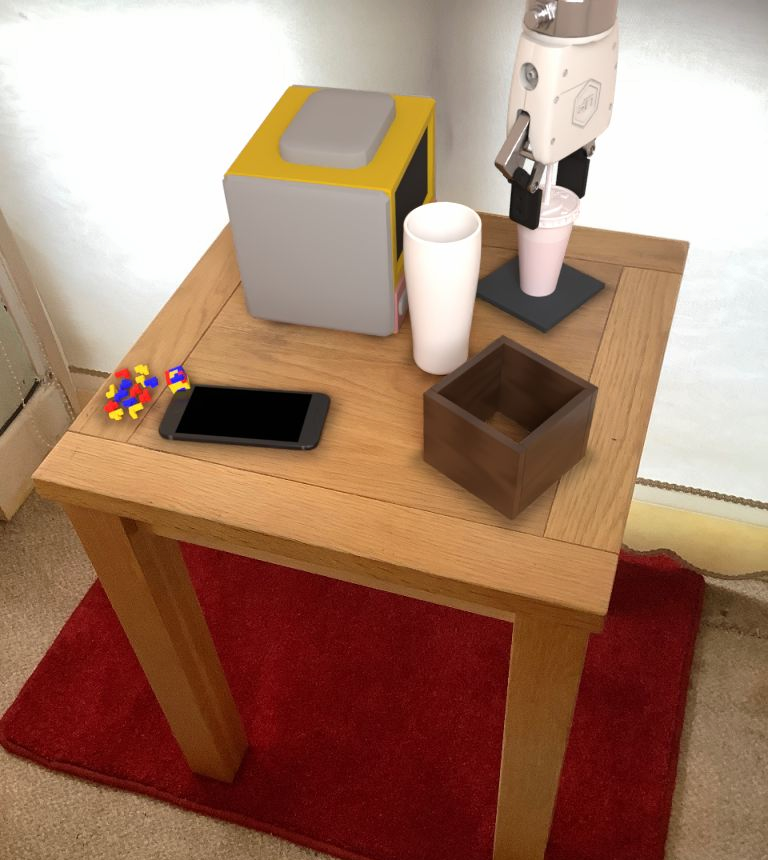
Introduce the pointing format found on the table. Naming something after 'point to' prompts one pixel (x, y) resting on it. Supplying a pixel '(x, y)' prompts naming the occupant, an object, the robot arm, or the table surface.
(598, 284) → the mat
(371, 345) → the table surface
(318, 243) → the alarm clock
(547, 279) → the smoothie
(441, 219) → the drinking glass
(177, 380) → the building blocks
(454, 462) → the holder
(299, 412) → the smartphone
